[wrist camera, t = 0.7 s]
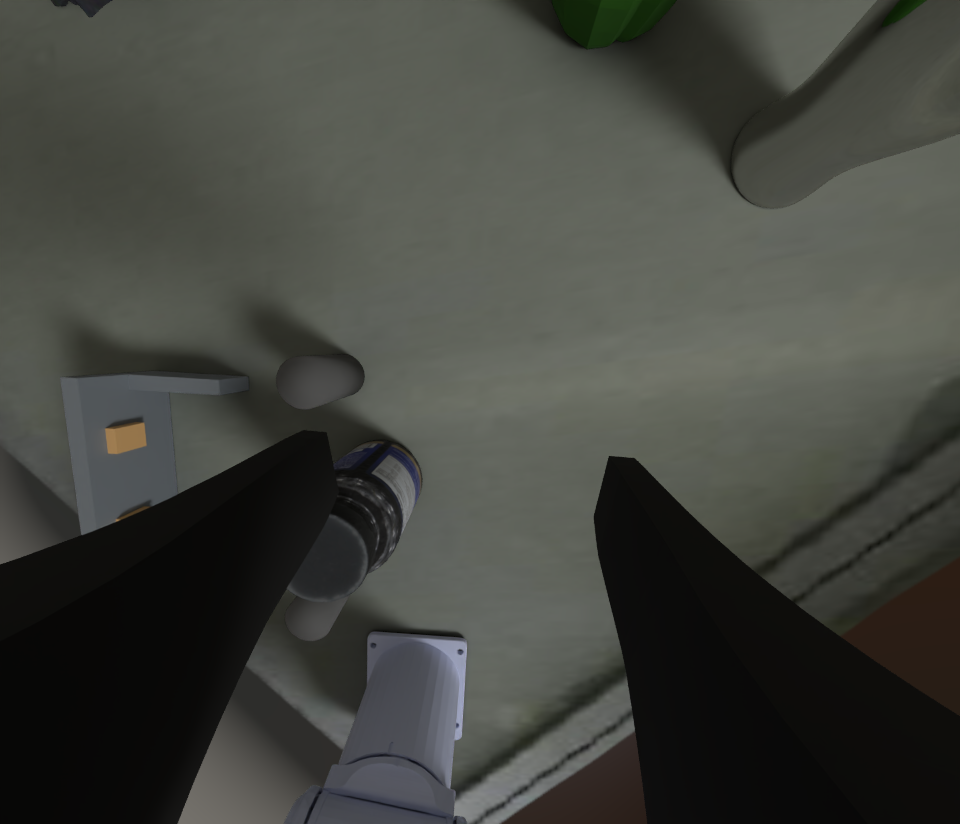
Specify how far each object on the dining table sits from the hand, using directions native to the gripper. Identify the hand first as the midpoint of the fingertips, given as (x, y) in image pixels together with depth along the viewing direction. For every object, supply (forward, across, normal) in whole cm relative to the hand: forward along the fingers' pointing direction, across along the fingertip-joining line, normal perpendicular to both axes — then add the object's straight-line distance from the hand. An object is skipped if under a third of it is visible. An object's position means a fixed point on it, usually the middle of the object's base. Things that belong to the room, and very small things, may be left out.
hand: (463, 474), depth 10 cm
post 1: (+16, +11, +5) cm, 20 cm away
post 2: (+11, +11, +19) cm, 25 cm away
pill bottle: (+14, +8, +12) cm, 20 cm away
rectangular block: (+13, +21, +12) cm, 27 cm away
